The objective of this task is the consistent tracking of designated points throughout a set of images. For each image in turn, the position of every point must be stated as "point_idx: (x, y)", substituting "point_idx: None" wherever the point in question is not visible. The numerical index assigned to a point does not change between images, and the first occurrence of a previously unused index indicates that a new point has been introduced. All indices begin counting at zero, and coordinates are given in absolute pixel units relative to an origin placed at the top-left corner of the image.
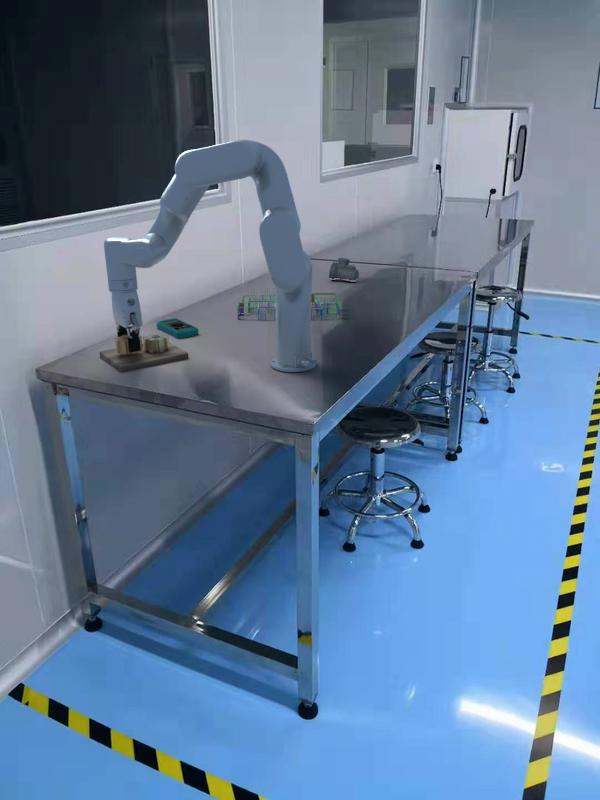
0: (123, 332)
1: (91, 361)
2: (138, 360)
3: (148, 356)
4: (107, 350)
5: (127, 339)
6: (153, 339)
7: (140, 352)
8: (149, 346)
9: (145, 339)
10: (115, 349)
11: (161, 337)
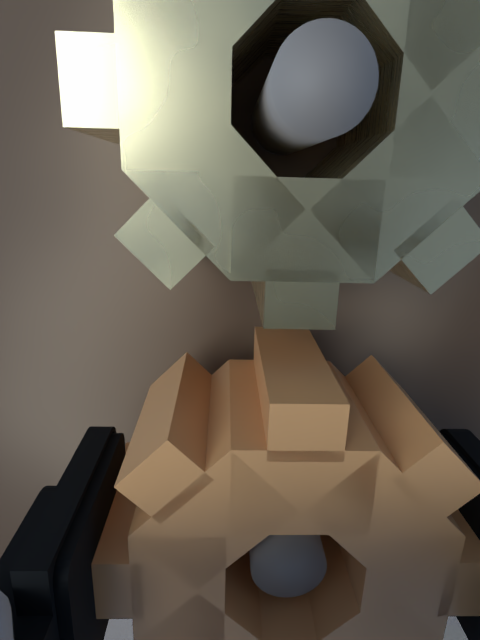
0: (80, 635)
1: (111, 634)
2: (475, 433)
3: (437, 309)
4: (7, 545)
5: (365, 624)
6: (443, 206)
7: (255, 322)
8: (393, 271)
9: (336, 313)
10: (11, 481)
11: (437, 5)
